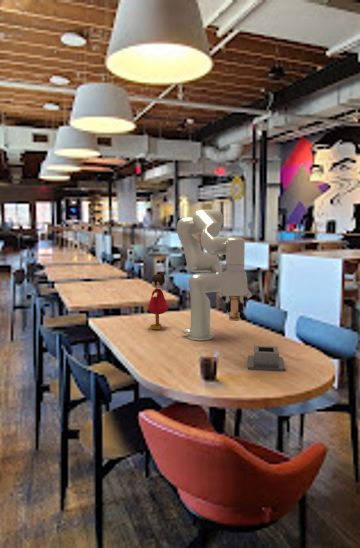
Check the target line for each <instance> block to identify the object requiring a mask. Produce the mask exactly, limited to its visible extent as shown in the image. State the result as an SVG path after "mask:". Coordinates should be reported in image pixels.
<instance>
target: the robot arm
mask: <svg viewBox="0 0 360 548" xmlns="http://www.w3.org/2000/svg"><path fill="white" fill-rule="evenodd" d="M223 224H224V215H223V214H222V212H221V211H220V210H218V209H199V210H196V211H194V213H193V214H192V216H186V217H182V218H180V219H179V220H178V221H177V224H176V232H177V236H178V239H179V242H180V244H181V245H182V248H183V251H184V256H185V261H186V265H187V268H188V270H189V271H190V272H191V273H192V272H193V273H194V274H191V275H190V277H189V278H188V290H189V294H190V327H188V328H181V332H182V333H183V334H187V338H188V339H189V340H192V341H199V342H200V341H201V342H202V341H203V342H204V341H209V340H212V339H214V334H213V333H212V332H211V300H210V298H209V297H208V295H207V294H206V293H216V292H217V296H218V297H219V298H221V299H222V300H223V301H224V302H225V310H226V311H227V314H229V311H230V303H229V301H230V298H229V297H230V296H240V306H239V313H240V314H242V311H244V303H245V302H246V301H247V300H248V299H250V298H251V297H252V296H253V294H252V293H251V291H250V289H249V288H248V276H247V272H246V271H245V250H246V249H245V246H246V245H245V244H246V243H245V239H244V238H242V237H236V236H218V235H219V234H220V233H221V228H222V227H221V226H223ZM193 235H200V241H198V239H197V238H196V237H194V236H193ZM202 248H203V249H204V250H205V251H206V252H204V251H202V250H203V249H202ZM219 255H220V256H221V255H222V256H223V255H225V264H222V266H221V263H220V259H219ZM223 269H224V270H225V271H222V270H223Z"/></svg>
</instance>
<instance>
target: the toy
mask: <svg viewBox="0 0 360 548" xmlns="http://www.w3.org/2000/svg"><path fill="white" fill-rule="evenodd" d="M165 281H166V279H165V273H164V272H160V273H159V274H158V273H157V274H156V273H155V274H154V275H152V276H151V285H152V288H153V289H154V290H153V291H152V292H151V297H150V300H149V303H148V307H147V310H148V312H150V314H152V315H153V314H154V315H155V317H154V318H155V319H154V320H155V323H154V324H150V325H149V330H150V329H160V330H161V327H162V324H161V323H160V315H163V314H165V313H166V312H167V311H168V310H169V305H168V302H167V299H166V298H165V295H164V292H163V290H162V286H163V285H164V284H165Z"/></svg>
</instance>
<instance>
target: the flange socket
mask: <svg viewBox="0 0 360 548" xmlns="http://www.w3.org/2000/svg"><path fill="white" fill-rule="evenodd" d="M247 370H250V371H251V370H252V371H254V370H255V371H273V372H274V371H275V372H276V371H277V372H286V364H285V361H284V358H283V356H280V352H279V347H278V346H273V345H270V346H269V345H253V355H247Z"/></svg>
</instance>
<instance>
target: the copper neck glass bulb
mask: <svg viewBox="0 0 360 548" xmlns="http://www.w3.org/2000/svg"><path fill="white" fill-rule="evenodd" d="M229 303H230V311H229V313H228V314H229V316H228V321H231V322H238V321H240V320H241V317H240V314H241V313H239V306H240V296H230V297H229Z"/></svg>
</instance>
